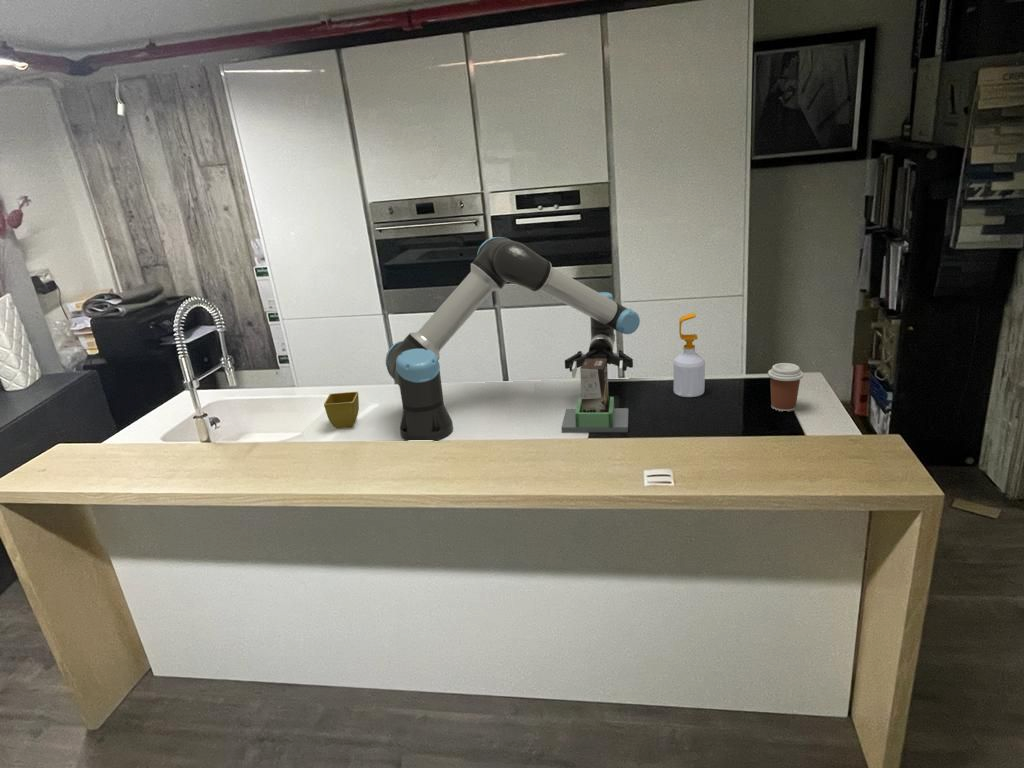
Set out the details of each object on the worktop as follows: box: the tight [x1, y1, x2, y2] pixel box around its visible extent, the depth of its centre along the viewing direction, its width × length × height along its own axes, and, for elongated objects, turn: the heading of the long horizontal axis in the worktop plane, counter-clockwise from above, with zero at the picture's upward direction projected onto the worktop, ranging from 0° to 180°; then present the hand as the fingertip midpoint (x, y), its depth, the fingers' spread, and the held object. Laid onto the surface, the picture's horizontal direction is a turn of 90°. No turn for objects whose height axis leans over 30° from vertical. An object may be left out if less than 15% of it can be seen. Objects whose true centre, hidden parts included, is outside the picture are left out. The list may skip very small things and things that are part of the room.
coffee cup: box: [767, 362, 804, 412], centre depth 188 cm, size 9×9×12 cm
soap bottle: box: [673, 312, 706, 398], centre depth 202 cm, size 9×9×25 cm
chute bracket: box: [561, 396, 629, 433], centre depth 190 cm, size 18×13×6 cm
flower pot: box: [323, 391, 360, 429], centre depth 203 cm, size 9×9×9 cm
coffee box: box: [579, 358, 610, 413], centre depth 188 cm, size 9×6×16 cm
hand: (596, 372), depth 195 cm, fingers open, 13 cm apart
